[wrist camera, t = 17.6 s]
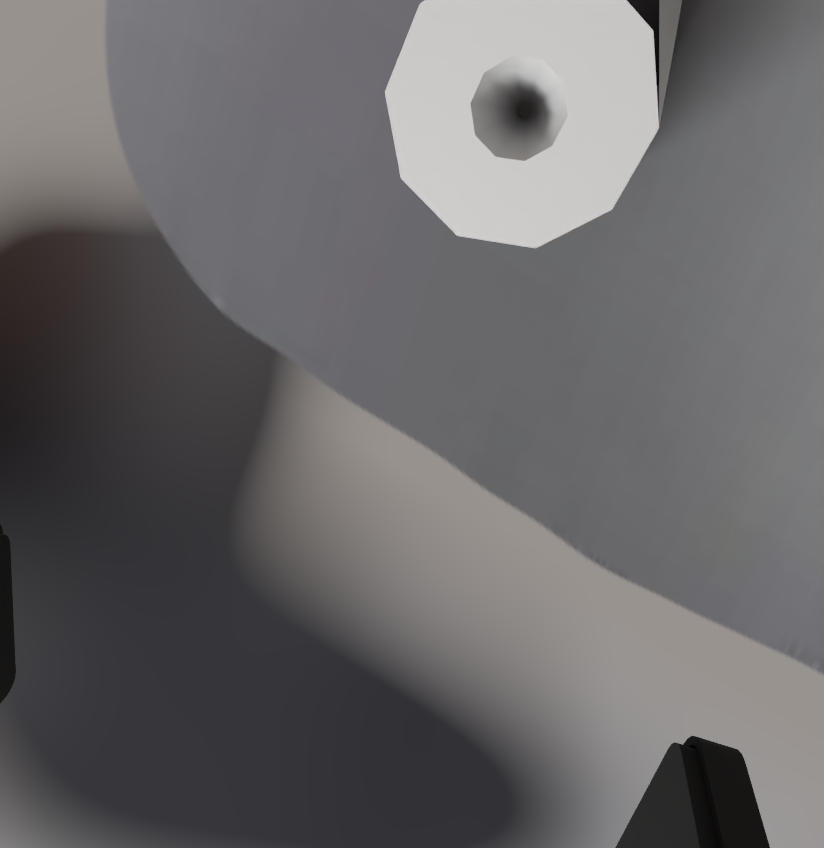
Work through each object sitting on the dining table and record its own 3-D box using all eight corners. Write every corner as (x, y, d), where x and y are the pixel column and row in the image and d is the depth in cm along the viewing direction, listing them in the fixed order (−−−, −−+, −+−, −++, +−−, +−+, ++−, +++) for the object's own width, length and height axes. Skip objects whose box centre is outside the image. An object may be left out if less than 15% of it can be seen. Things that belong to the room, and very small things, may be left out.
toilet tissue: (731, -47, 28) (796, -110, 20) (563, 252, 34) (564, 291, 26) (532, -151, 28) (521, -253, 20) (398, 166, 34) (349, 180, 26)
